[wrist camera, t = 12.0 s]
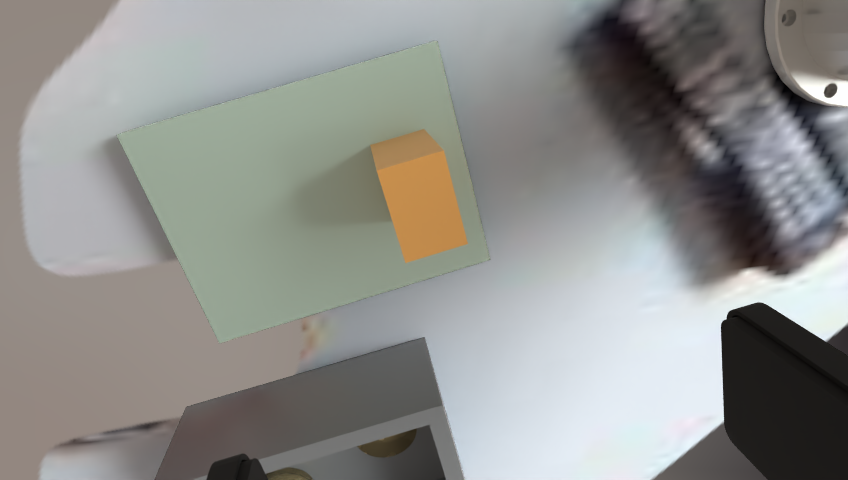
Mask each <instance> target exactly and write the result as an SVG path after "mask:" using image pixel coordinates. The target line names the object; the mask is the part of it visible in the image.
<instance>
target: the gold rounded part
mask: <svg viewBox="0 0 848 480" xmlns="http://www.w3.org/2000/svg"><path fill="white" fill-rule="evenodd" d="M416 432H417V428H416V429H413V430H410V431H406V432H403V433H400V434H396V435H393V436H390V437H386V438H383V439H380V440H376V441H373V442H370V443H366V444H363V445H360V446H358V448H359V449H360V450H361V451H363V452H364V453H366V454H368V455H370V456H373V457H381V458H382V457H391V456H394V455H397V454H399V453H401V452H403V451H405V450H406V449H407V448H408V447H409V446H410V445H411V444H412V442H413V441H414V439H415V436H416Z"/></svg>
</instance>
